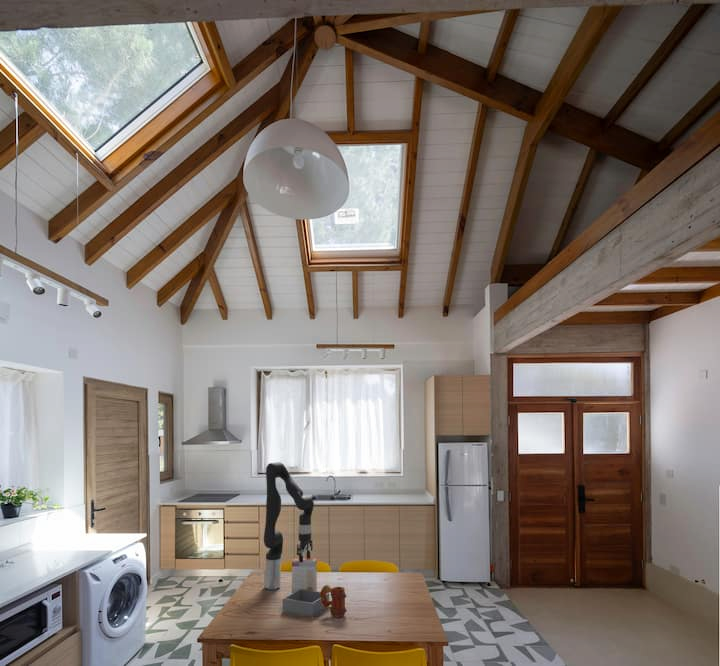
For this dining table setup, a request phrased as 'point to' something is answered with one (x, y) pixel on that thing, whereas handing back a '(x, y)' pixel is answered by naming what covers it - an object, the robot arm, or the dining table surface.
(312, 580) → the cracker box
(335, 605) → the mug
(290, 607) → the bin
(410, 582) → the dining table surface
